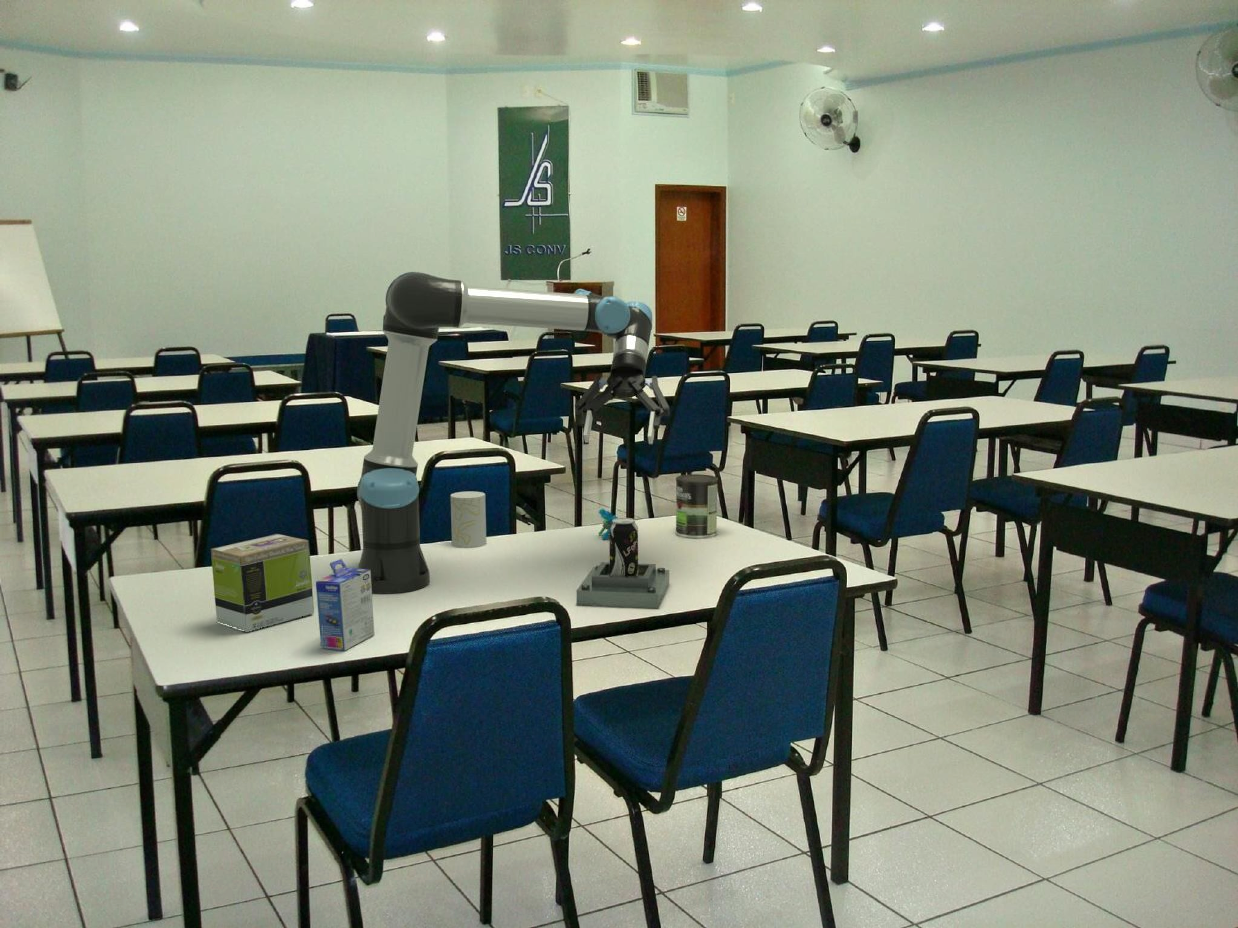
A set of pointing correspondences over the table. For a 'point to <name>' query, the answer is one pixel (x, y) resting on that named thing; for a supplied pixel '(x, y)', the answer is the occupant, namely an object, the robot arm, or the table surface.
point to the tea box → (262, 581)
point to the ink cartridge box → (345, 607)
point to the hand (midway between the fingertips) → (617, 439)
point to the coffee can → (696, 506)
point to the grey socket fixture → (624, 587)
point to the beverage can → (623, 547)
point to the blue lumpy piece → (606, 522)
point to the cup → (468, 519)
